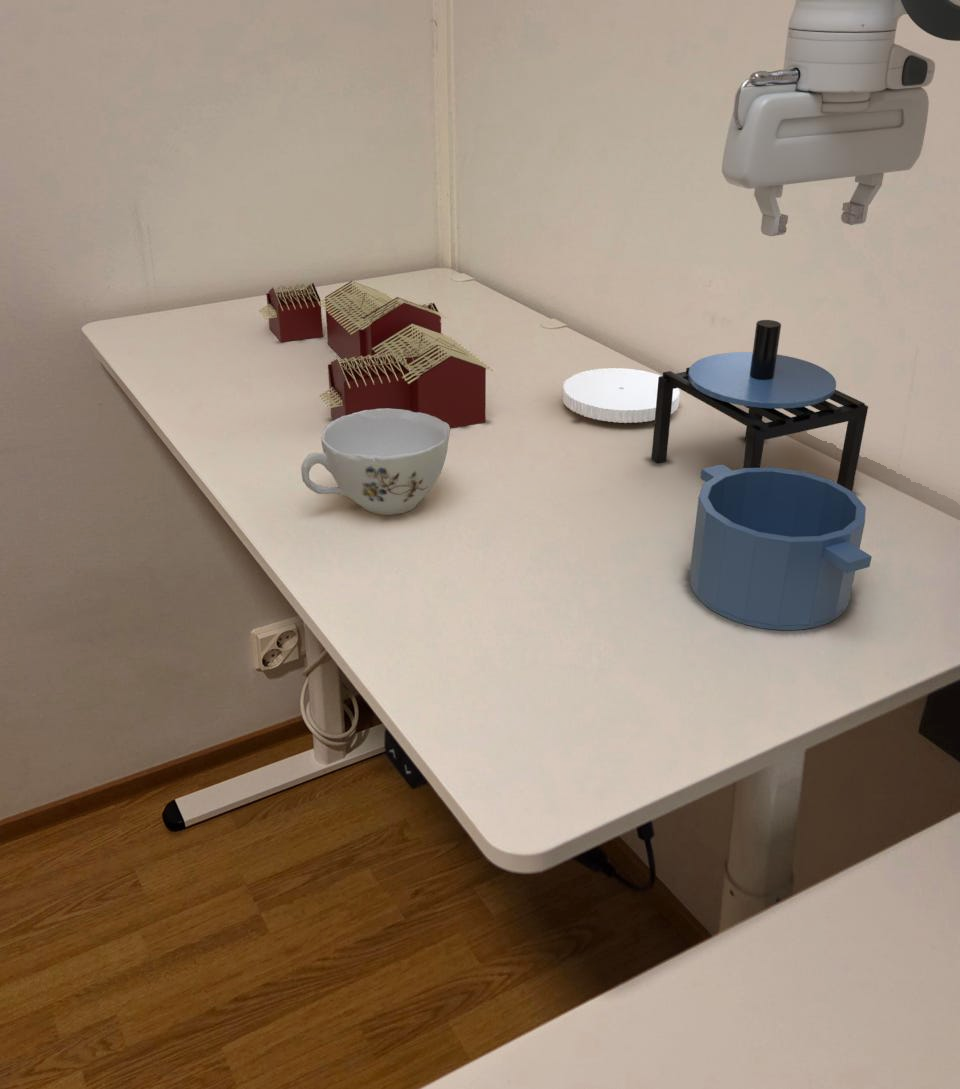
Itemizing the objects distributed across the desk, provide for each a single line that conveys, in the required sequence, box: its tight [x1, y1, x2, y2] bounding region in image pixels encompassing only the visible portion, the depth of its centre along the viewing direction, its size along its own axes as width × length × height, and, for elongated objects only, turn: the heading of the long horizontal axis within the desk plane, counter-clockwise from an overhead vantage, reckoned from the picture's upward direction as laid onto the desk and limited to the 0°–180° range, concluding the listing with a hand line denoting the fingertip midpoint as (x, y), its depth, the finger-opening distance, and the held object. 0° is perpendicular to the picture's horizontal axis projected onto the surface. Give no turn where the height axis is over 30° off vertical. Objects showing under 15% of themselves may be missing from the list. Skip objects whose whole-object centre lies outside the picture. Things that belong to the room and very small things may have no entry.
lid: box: [688, 319, 837, 410], centre depth 111 cm, size 15×15×7 cm
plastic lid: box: [561, 367, 681, 424], centre depth 133 cm, size 14×14×2 cm
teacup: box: [301, 408, 452, 516], centre depth 109 cm, size 15×12×8 cm
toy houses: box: [258, 280, 494, 429], centre depth 142 cm, size 45×20×10 cm, turn 24°
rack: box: [650, 366, 869, 492], centre depth 115 cm, size 14×16×10 cm
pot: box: [689, 464, 873, 631], centre depth 95 cm, size 14×19×8 cm
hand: (813, 228), depth 102 cm, fingers open, 8 cm apart
